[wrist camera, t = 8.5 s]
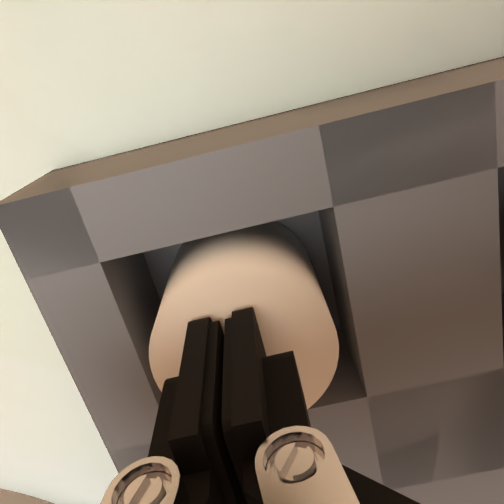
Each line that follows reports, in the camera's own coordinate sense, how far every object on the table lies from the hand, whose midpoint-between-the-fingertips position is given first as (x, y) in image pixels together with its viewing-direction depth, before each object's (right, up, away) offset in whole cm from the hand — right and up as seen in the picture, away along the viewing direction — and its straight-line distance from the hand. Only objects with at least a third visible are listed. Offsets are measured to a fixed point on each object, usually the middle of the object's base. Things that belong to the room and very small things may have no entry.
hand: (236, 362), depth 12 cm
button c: (0, +2, +4) cm, 4 cm away
